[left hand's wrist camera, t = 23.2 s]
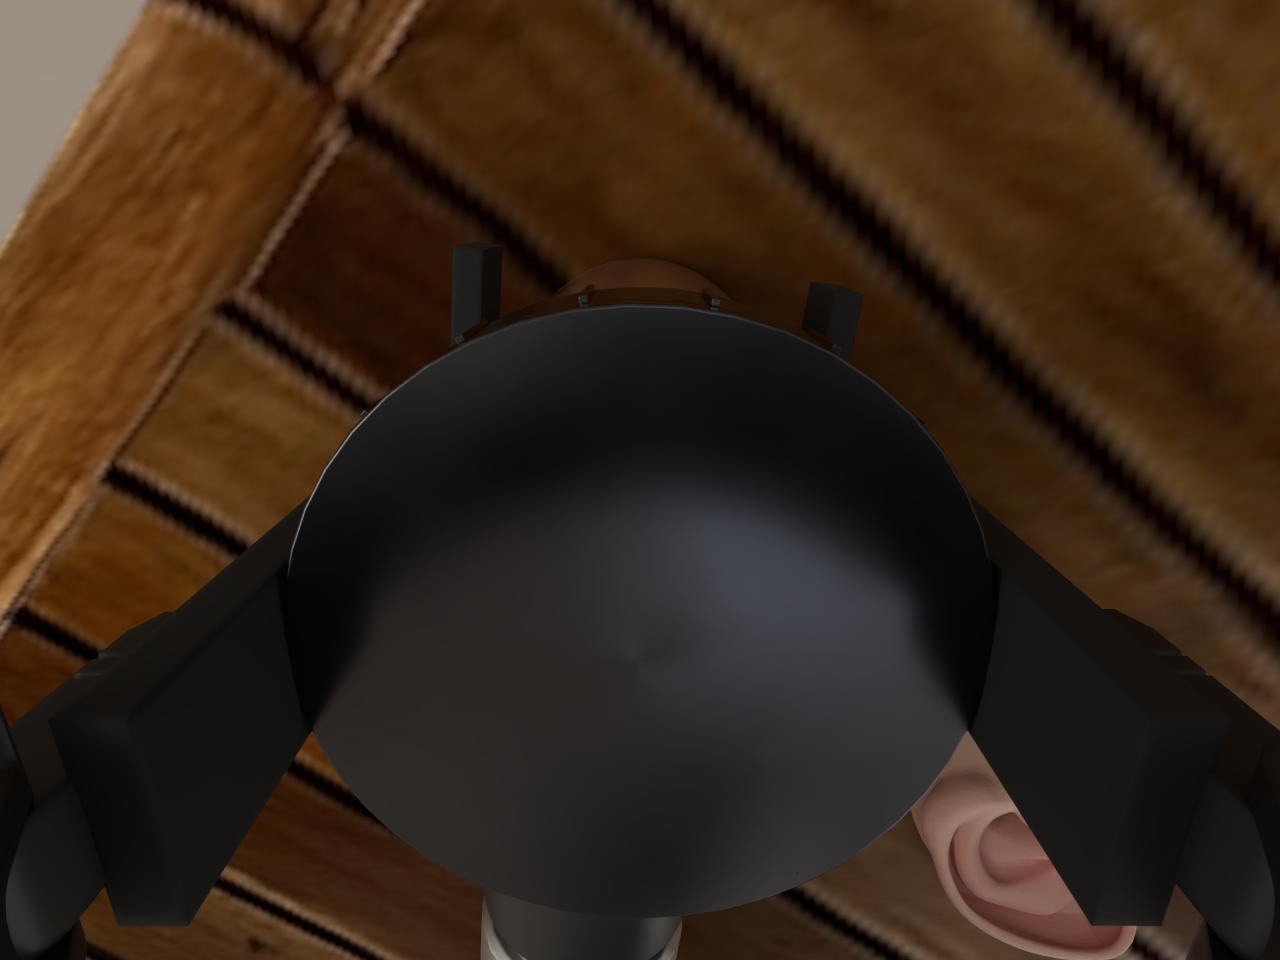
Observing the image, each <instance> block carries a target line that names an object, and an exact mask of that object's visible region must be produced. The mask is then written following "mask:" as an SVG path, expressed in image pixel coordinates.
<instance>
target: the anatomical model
mask: <svg viewBox="0 0 1280 960" xmlns="http://www.w3.org/2000/svg"><path fill="white" fill-rule="evenodd" d="M911 812H912V815H913V818H914V821H915V824H916V827H917V829H918V832H919V834H920V836H921V838H922V840H923V842H924V843H925V845H926V847H927V848H928V850H929V852H930V853H931V854H932V858H933V861H934V865H935V868H936V871H937V874H938V877H939V879H940V882H941V884H942V887H943V888H944V890H945V892H946V894H947V896H948V897H949V899H950V900H951V902H952V903H953V905H954V906H955V907H956V908H957V910H958V911H959V912H960V913H961V914H962V915H963V916H964V917H965V918H966V919H968V920H969V921H970V922H971V923H973V924H974V925H975V926H977V927H978V928H980V929H981V930H983V931H984V932H986V933H988V934H989V935H991V936H993V937H995V938H997V939H999V940H1001V941H1003V942H1005V943H1007V944H1009V945H1012V946H1014V947H1017V948H1019V949H1022V950H1025V951H1028V952H1032V953H1036V954H1039V955H1043V956H1049V957H1054V958H1059V959H1068V960H1107V959H1112V958H1114V957H1117V956H1119V955H1121V954H1122V953H1124V952H1125V951H1126V950H1127V949H1128V947H1129V946H1130V945H1131V943H1132V941H1133V939H1134V936H1135V932H1136V928H1137V926H1091V924H1090V923H1089V921H1088V920H1087V918H1086V916H1085V915H1084V913H1083V912H1082V910H1081V908H1080V907H1079V905H1078V904H1077V902H1076V901H1075V899H1074V897H1073V896H1072V894H1071V893H1070V891H1069V890H1068V888H1067V886H1066V885H1065V883H1064V882H1063V880H1062V879H1061V877H1060V875H1059V874H1058V872H1057V871H1056V869H1055V867H1054V866H1053V864H1052V863H1051V861H1050V860H1049V858H1048V856H1047V855H1046V853H1045V852H1044V850H1043V849H1042V847H1041V845H1040V844H1039V842H1038V841H1037V839H1036V838H1035V836H1034V834H1033V833H1032V831H1031V830H1030V828H1029V826H1028V825H1027V823H1026V822H1025V820H1024V819H1023V817H1022V815H1021V814H1020V812H1019V811H1018V809H1017V808H1016V806H1015V804H1014V803H1013V801H1012V800H1011V798H1010V797H1009V795H1008V793H1007V792H1006V790H1005V789H1004V787H1003V786H1002V784H1001V782H1000V781H999V779H998V778H997V776H996V774H995V773H994V771H993V770H992V768H991V767H990V765H989V763H988V762H987V760H986V759H985V757H984V756H983V754H982V752H981V751H980V749H979V748H978V746H977V745H976V743H975V741H974V740H973V738H972V737H971V735H970V733H969V732H968V730H967V732H966V734H965V735H964V737H963V739H962V741H961V743H960V744H959V746H958V748H957V750H956V751H955V753H954V755H953V757H952V758H951V760H950V762H949V764H948V765H947V766H946V767H945V769H944V770H943V771H942V773H941V774H940V775H939V777H938V778H937V779H936V781H935V782H934V783H933V785H932V786H931V787H930V789H929V790H928V791H927V793H926V794H925V795H924V796H923V797H922V798H921V799H920V800H919V801H918V802H917V803H916V804H915V805H914V806H913V807H912V809H911Z"/></svg>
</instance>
